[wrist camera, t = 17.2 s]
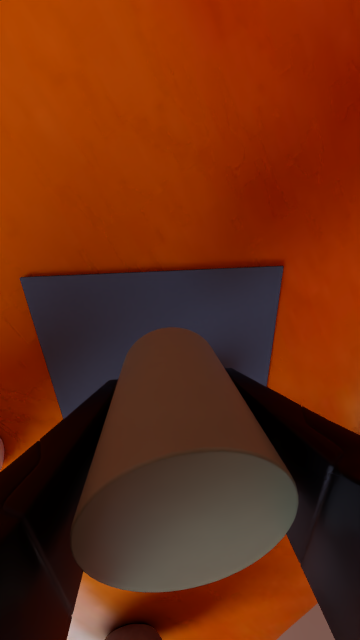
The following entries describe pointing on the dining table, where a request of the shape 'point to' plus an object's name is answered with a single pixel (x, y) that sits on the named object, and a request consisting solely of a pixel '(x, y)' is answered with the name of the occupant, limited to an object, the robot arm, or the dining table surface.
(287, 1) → the dining table surface
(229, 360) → the placemat
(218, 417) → the sage candle
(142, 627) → the vase
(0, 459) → the alcohol
